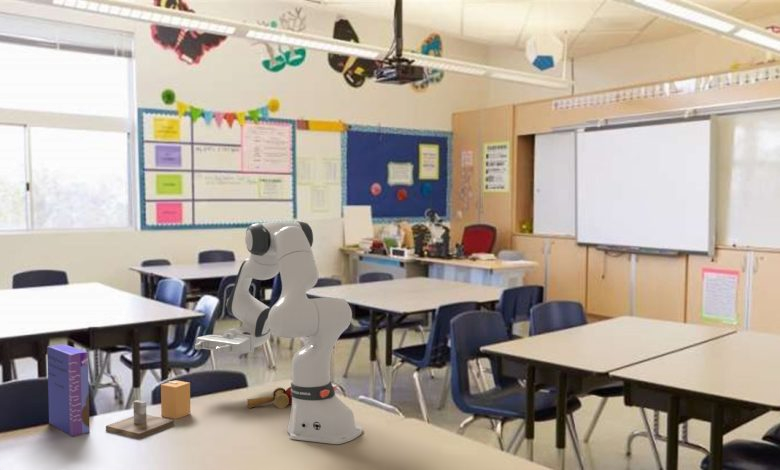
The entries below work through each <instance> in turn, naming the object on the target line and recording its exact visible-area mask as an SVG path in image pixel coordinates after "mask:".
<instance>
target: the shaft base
mask: <svg viewBox="0 0 780 470" xmlns="http://www.w3.org/2000/svg"><path fill="white" fill-rule="evenodd" d="M174 422H175V420H174V419H173V420H172V419H171V418H169V419H168V418H165V417H160V416H154V415H150V414H147V401H144V400H140V399H139V400H138V399H137V400H134V401H133V416H130V417H127V418H125V419H121V420H119V421H116V422H113V423H110V424H108V425H106V426H105V431H106V432H110V433H113V434H114V433H115V434H118V435H122V436H126V437H130V438H134V439H138V440H139V439H143V438H145V437H147V436H150V435H152V434H155V433H158V432H160V431H162V430H165V429H167V428H170V427H173V426H175V423H174Z"/></svg>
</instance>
